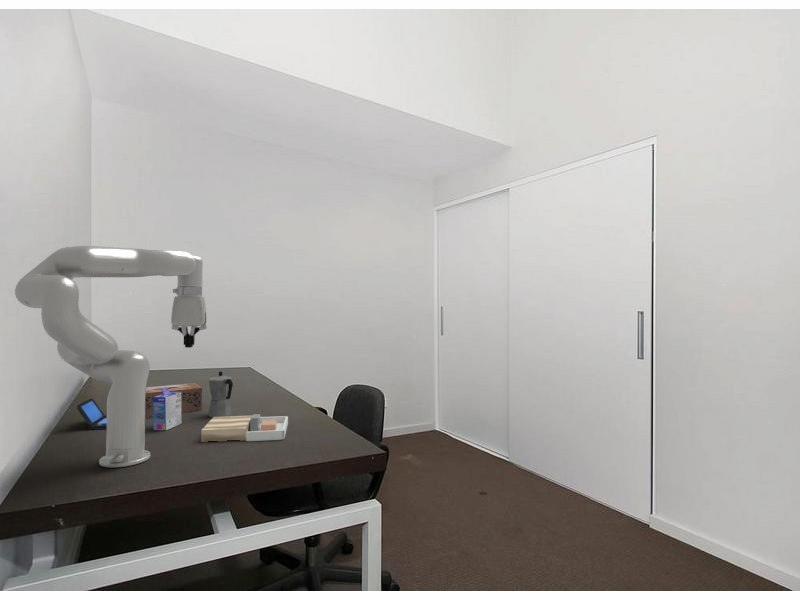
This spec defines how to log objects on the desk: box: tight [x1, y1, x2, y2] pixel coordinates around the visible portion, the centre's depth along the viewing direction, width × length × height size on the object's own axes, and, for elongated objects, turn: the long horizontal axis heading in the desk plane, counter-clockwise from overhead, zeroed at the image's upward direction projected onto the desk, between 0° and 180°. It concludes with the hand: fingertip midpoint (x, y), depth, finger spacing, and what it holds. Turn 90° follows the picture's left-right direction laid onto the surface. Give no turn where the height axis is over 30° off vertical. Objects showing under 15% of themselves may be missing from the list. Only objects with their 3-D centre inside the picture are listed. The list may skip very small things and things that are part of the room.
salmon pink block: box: [261, 420, 277, 431], centre depth 160 cm, size 6×5×2 cm
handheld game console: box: [76, 398, 107, 431], centre depth 169 cm, size 16×13×9 cm
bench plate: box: [200, 415, 252, 443], centre depth 157 cm, size 18×14×4 cm
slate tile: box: [251, 413, 261, 431], centre depth 159 cm, size 6×5×2 cm
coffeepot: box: [208, 371, 234, 419], centre depth 184 cm, size 15×9×18 cm, turn 51°
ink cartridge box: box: [152, 387, 182, 431], centre depth 166 cm, size 10×6×14 cm, turn 174°
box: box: [245, 415, 289, 442], centre depth 160 cm, size 21×12×3 cm, turn 11°
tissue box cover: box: [145, 382, 203, 417], centre depth 191 cm, size 26×14×10 cm, turn 126°
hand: (189, 347), depth 150 cm, fingers closed
